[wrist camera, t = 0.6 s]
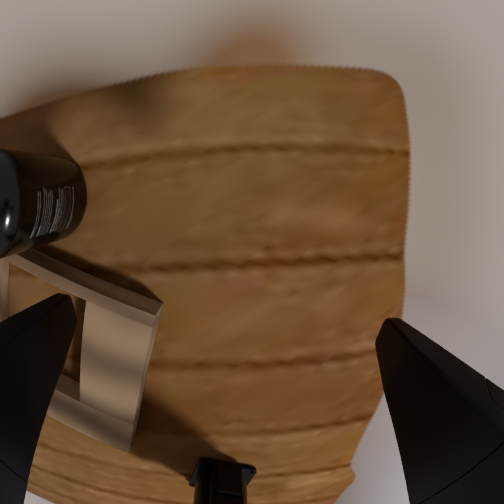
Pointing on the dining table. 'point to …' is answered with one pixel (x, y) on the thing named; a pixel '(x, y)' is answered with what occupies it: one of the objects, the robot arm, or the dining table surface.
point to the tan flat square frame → (98, 350)
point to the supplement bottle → (38, 200)
